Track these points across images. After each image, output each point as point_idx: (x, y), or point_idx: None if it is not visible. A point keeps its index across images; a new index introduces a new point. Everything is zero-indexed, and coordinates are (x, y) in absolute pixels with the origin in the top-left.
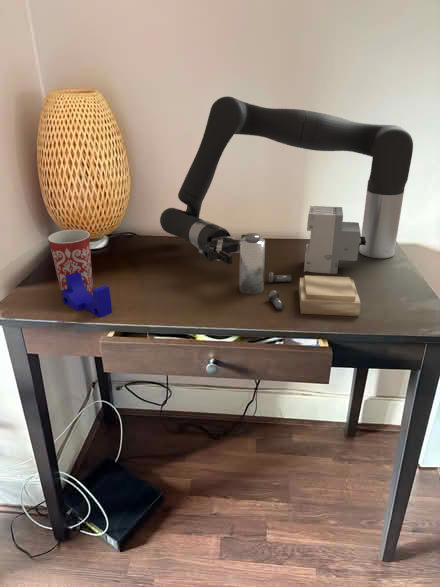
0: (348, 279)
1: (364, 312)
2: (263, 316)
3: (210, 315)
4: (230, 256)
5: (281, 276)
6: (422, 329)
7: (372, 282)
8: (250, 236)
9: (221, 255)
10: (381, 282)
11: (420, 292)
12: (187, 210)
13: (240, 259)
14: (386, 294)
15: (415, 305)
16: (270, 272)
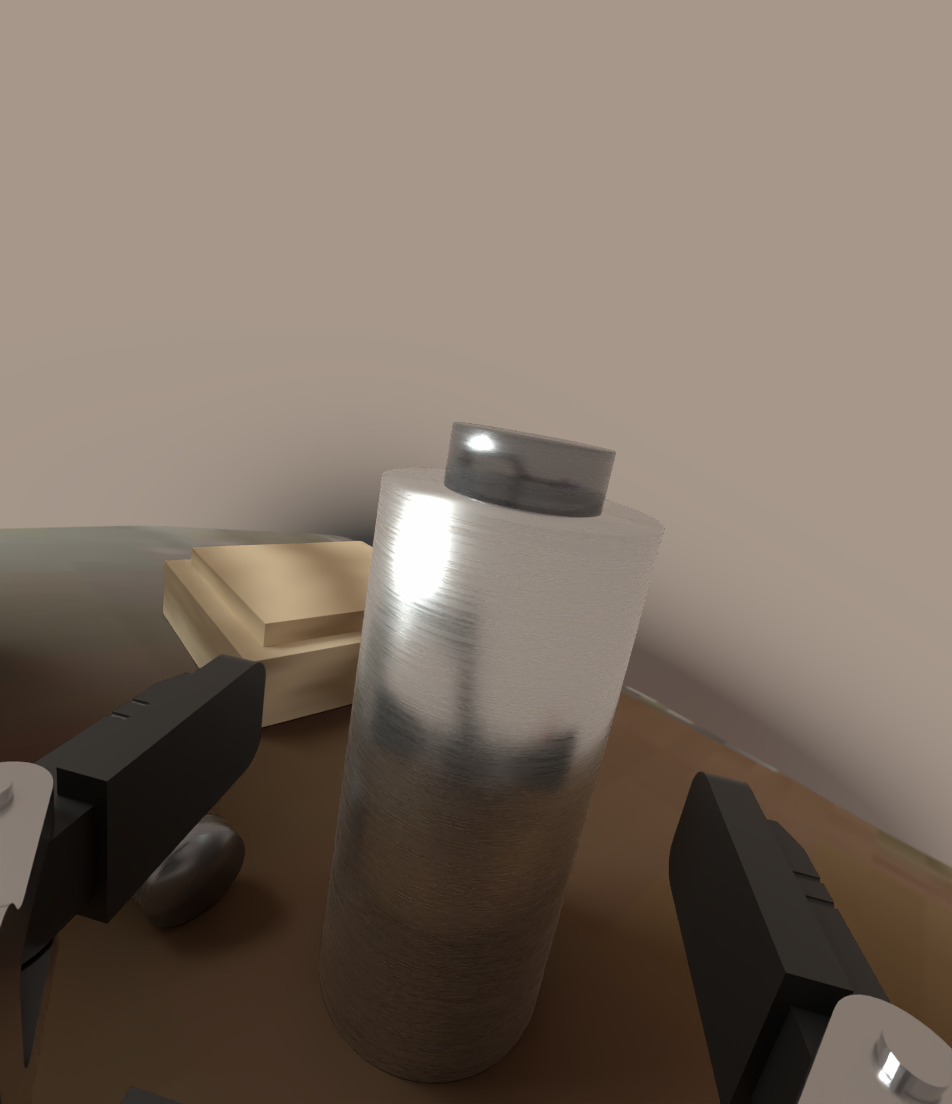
0: (221, 548)
1: None
2: (614, 741)
3: (905, 920)
4: (721, 778)
5: None
6: (336, 541)
7: (17, 587)
8: (575, 443)
9: (843, 923)
10: (10, 574)
11: (91, 533)
12: None
13: (608, 731)
14: (146, 567)
15: (204, 541)
16: (178, 845)
